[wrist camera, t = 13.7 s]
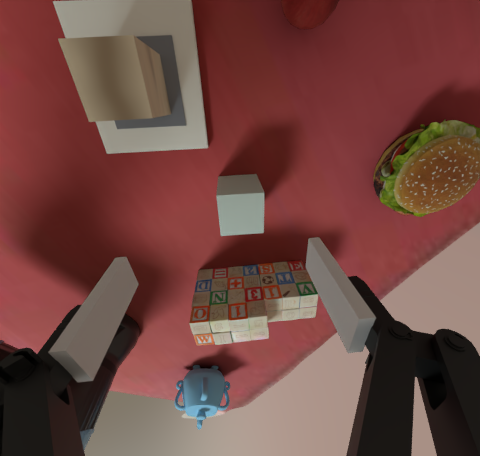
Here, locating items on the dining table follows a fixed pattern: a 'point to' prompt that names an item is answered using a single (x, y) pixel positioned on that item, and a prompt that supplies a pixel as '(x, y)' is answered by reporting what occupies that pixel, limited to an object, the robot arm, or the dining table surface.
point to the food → (429, 168)
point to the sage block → (240, 205)
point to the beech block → (117, 77)
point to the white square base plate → (172, 59)
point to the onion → (308, 12)
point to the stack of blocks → (249, 301)
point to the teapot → (202, 393)
